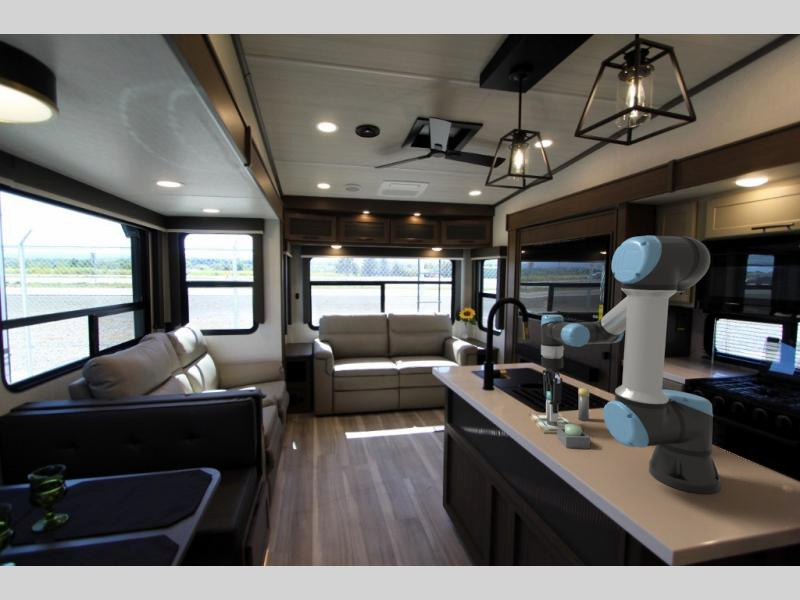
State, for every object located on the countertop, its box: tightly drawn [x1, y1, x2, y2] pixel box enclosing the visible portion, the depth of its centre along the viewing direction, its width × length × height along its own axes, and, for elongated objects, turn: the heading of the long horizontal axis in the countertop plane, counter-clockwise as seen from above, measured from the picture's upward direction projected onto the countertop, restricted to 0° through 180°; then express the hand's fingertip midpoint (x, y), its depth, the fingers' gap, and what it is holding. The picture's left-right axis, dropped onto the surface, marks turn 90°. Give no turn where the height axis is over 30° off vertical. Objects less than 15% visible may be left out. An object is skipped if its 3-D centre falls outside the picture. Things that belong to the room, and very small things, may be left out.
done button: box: [565, 423, 583, 436], centre depth 119 cm, size 5×5×4 cm
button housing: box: [556, 428, 591, 449], centre depth 119 cm, size 8×8×4 cm
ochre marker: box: [577, 387, 590, 422], centre depth 140 cm, size 4×4×12 cm
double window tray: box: [528, 412, 573, 435], centre depth 136 cm, size 18×13×1 cm
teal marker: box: [546, 391, 557, 426], centre depth 133 cm, size 4×4×12 cm
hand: (552, 419), depth 133 cm, fingers closed on teal marker, 3 cm apart
